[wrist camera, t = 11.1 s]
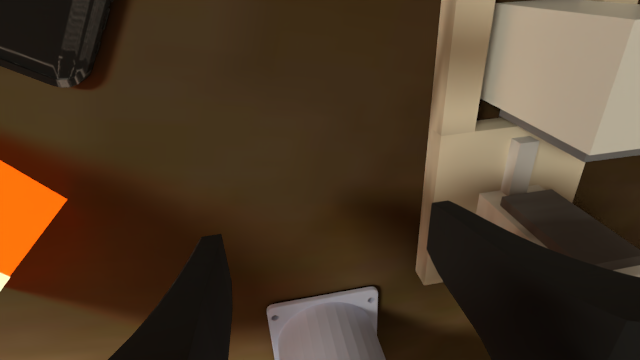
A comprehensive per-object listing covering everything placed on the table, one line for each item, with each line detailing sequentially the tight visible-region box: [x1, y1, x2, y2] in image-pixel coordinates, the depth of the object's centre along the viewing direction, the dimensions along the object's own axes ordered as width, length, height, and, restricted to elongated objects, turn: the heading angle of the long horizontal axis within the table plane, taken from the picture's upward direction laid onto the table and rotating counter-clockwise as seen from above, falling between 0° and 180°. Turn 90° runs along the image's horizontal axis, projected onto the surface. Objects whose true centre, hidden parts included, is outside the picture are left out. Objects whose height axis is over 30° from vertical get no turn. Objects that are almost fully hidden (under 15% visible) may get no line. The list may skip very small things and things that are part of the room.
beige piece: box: [416, 0, 640, 285], centre depth 19 cm, size 20×10×10 cm, turn 3°
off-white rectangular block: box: [480, 0, 640, 162], centre depth 18 cm, size 6×4×8 cm
